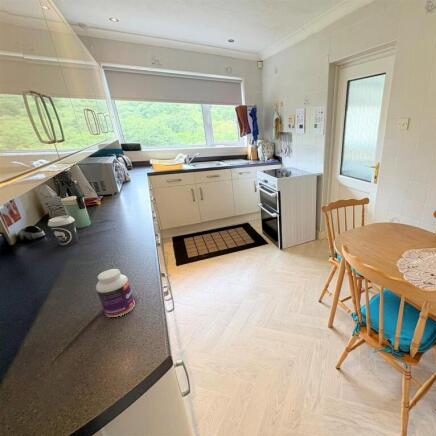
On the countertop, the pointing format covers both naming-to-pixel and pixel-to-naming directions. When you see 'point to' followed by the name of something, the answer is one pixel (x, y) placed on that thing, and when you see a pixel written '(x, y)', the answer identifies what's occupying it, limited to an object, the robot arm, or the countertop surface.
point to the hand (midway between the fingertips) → (75, 208)
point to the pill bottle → (114, 293)
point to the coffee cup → (64, 230)
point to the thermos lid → (69, 200)
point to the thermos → (78, 215)
